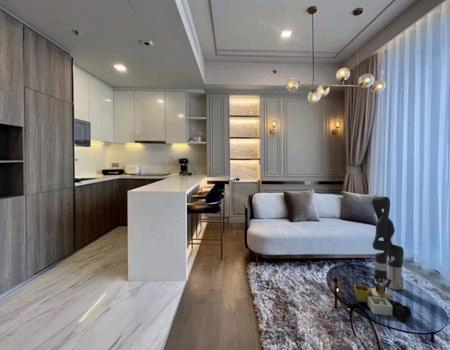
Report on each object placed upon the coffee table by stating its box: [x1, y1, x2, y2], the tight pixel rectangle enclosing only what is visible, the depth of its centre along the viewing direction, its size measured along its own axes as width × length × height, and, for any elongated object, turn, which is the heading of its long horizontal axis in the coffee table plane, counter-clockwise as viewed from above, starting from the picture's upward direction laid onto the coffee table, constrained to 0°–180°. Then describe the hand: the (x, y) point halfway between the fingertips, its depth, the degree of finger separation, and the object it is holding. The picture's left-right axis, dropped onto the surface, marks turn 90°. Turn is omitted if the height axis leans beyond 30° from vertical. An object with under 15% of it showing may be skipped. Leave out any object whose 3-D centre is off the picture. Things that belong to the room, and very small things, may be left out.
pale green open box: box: [367, 295, 393, 316], centre depth 166 cm, size 11×11×6 cm
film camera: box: [388, 299, 412, 324], centre depth 159 cm, size 15×10×9 cm, turn 177°
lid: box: [368, 283, 394, 300], centre depth 179 cm, size 12×12×7 cm
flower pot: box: [353, 284, 371, 303], centre depth 179 cm, size 9×9×9 cm
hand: (380, 292), depth 179 cm, fingers closed on lid, 3 cm apart
